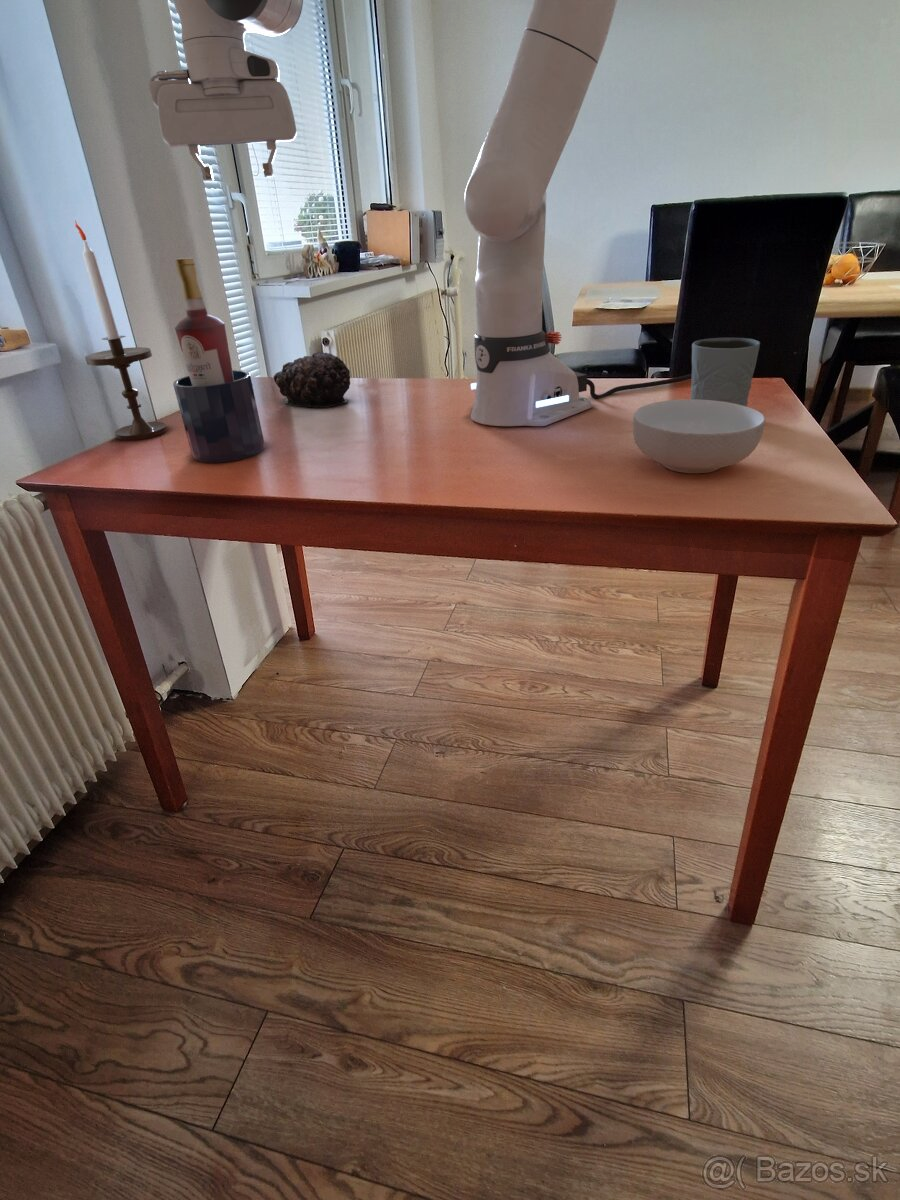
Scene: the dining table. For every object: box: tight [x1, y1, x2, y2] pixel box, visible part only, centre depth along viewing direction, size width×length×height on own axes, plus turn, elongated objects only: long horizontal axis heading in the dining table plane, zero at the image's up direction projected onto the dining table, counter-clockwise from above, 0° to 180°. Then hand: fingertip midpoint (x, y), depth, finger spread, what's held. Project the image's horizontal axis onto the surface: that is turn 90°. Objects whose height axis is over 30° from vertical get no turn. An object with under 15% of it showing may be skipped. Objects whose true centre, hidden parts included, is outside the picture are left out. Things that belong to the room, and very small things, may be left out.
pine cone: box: [273, 351, 351, 408], centre depth 135 cm, size 10×18×10 cm, turn 68°
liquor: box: [174, 257, 234, 386], centre depth 105 cm, size 7×7×28 cm
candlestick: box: [74, 219, 168, 442], centre depth 117 cm, size 11×11×35 cm
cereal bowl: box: [632, 398, 766, 474], centre depth 91 cm, size 17×17×7 cm
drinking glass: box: [690, 337, 761, 407], centre depth 109 cm, size 10×10×12 cm
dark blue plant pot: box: [172, 369, 266, 464], centre depth 109 cm, size 12×12×12 cm
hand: (239, 178), depth 106 cm, fingers open, 8 cm apart
